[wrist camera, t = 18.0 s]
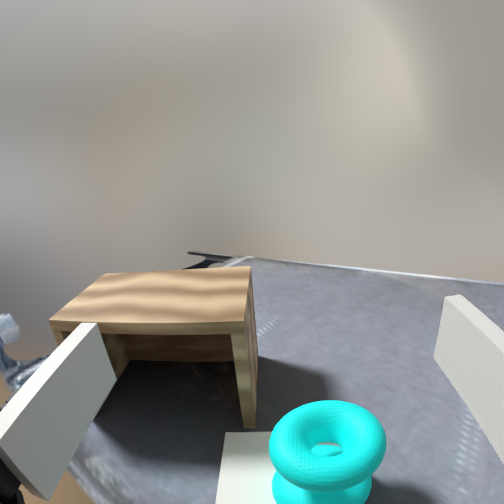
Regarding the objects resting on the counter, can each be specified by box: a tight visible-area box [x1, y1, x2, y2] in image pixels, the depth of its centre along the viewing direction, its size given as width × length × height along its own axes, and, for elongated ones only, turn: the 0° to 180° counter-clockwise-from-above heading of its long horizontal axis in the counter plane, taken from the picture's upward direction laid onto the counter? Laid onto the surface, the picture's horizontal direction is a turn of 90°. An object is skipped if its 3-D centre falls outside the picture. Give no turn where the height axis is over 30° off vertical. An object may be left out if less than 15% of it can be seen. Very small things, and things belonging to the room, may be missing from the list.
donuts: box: [269, 400, 386, 504], centre depth 23 cm, size 10×10×10 cm
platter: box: [216, 431, 339, 504], centre depth 27 cm, size 15×14×2 cm
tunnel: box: [49, 266, 258, 429], centre depth 44 cm, size 18×25×16 cm
